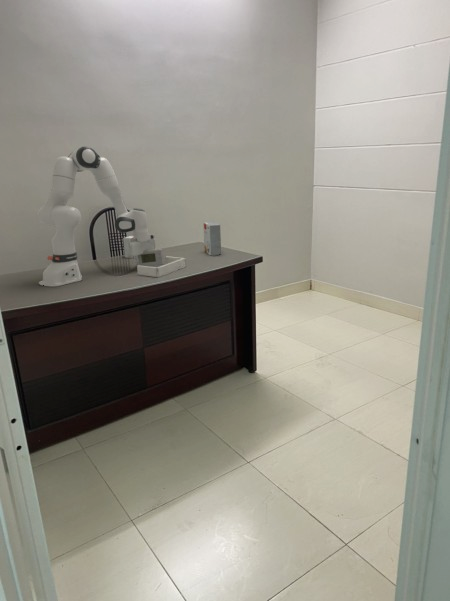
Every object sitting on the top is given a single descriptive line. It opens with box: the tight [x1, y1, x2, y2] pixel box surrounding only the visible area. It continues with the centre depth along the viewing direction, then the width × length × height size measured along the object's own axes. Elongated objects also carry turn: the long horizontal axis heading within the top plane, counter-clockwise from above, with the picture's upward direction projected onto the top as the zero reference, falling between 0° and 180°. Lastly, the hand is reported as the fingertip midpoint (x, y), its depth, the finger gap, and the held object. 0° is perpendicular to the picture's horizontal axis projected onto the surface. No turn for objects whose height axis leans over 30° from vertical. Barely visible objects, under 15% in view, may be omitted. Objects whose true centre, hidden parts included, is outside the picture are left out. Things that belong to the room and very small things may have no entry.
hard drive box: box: [202, 221, 222, 256], centre depth 280 cm, size 16×8×20 cm, turn 17°
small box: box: [122, 235, 134, 259], centre depth 277 cm, size 8×6×13 cm
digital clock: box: [136, 248, 166, 267], centre depth 246 cm, size 16×9×11 cm, turn 101°
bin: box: [136, 255, 187, 278], centre depth 240 cm, size 26×14×5 cm, turn 150°
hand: (143, 261), depth 247 cm, fingers open, 8 cm apart
